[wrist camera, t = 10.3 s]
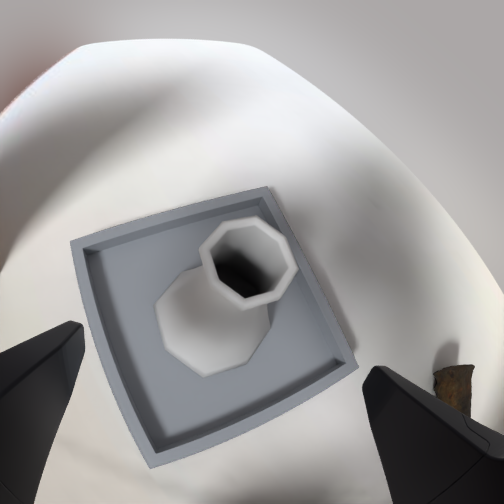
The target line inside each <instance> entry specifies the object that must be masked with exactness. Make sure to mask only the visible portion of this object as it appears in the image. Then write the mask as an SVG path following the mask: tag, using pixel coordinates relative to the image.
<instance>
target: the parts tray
mask: <svg viewBox="0 0 504 504" xmlns="http://www.w3.org/2000/svg"><path fill="white" fill-rule="evenodd" d="M255 215H257V216H258V217H260V218H261V219H262V220H264V221H265V222H267V223H268V224H269V225H271V226H272V227H274V228H275V229H276V230H278V231H279V232H280V233H282V234H283V235H285V236H286V238H287V241H288V243H289V246H290V248H291V250H292V253H293V255H294V258H295V260H296V263H297V265H298V268H299V270H298V272H297V273H296V275H295V276H294V278H293V280H292V281H291V283H290V284H289V286H288V288H287V289H286V291H285V292H284V294H283V295H282V297H281V298H280V299H279V300H278V301H274V302H271V303H268V304H267V310H268V317H269V322H270V328H271V329H270V330H269V332H268V333H267V335H266V336H265V338H264V339H263V341H262V342H261V344H260V345H259V347H258V349H257V350H256V352H255V353H254V354H253V356H252V357H251V359H250V360H249V362H248V363H247V364H246V365H243V366H240V367H237V368H234V369H231V370H228V371H225V372H221V373H218V374H215V375H212V376H208V377H205V378H203V377H201V376H200V375H198V374H197V373H196V372H194V371H193V370H191V369H190V368H189V367H187V366H186V365H185V364H183V363H182V362H181V361H179V360H178V359H176V358H175V357H174V356H173V355H171V354H170V353H169V352H167V351H166V350H165V348H164V345H163V341H162V338H161V334H160V331H159V327H158V323H157V320H156V316H155V312H154V308H153V305H154V304H155V302H156V301H157V300H158V299H159V298H160V296H161V295H162V294H163V293H164V292H165V290H166V289H167V288H168V287H169V286H170V284H171V283H172V282H173V281H174V280H175V279H176V277H177V276H178V275H179V274H180V273H181V272H183V271H187V270H191V269H195V268H197V267H200V266H202V265H203V264H202V260H201V257H200V254H199V247H200V246H201V245H202V244H203V243H204V242H205V240H206V239H207V238H208V237H209V236H210V235H211V234H212V233H213V231H214V230H215V229H216V228H217V227H218V226H219V225H220V224H221V223H222V221H227V220H233V219H238V218H244V217H250V216H255ZM70 245H71V251H72V256H73V261H74V266H75V271H76V276H77V281H78V285H79V289H80V293H81V298H82V302H83V305H84V309H85V313H86V317H87V320H88V324H89V327H90V330H91V334H92V337H93V340H94V343H95V346H96V349H97V352H98V355H99V358H100V361H101V364H102V367H103V369H104V372H105V375H106V377H107V380H108V382H109V385H110V388H111V390H112V392H113V395H114V397H115V400H116V402H117V404H118V407H119V409H120V411H121V413H122V416H123V418H124V420H125V422H126V424H127V426H128V428H129V431H130V433H131V435H132V437H133V439H134V441H135V443H136V445H137V446H138V448H139V450H140V452H141V454H142V456H143V458H144V460H145V461H146V463H147V465H148V467H149V468H150V469H152V468H155V467H158V466H161V465H164V464H167V463H171V462H173V461H176V460H179V459H182V458H185V457H188V456H190V455H193V454H196V453H198V452H201V451H204V450H206V449H209V448H211V447H214V446H216V445H218V444H221V443H223V442H226V441H228V440H230V439H232V438H235V437H237V436H239V435H241V434H244V433H246V432H248V431H250V430H252V429H254V428H256V427H258V426H260V425H262V424H264V423H266V422H268V421H270V420H272V419H274V418H276V417H278V416H280V415H282V414H284V413H285V412H287V411H289V410H291V409H293V408H295V407H296V406H298V405H300V404H302V403H303V402H305V401H307V400H309V399H310V398H312V397H314V396H315V395H317V394H319V393H320V392H322V391H324V390H325V389H327V388H329V387H330V386H332V385H333V384H335V383H336V382H338V381H340V380H341V379H343V378H344V377H346V376H347V375H349V374H350V373H352V372H353V371H355V370H356V369H358V368H359V366H358V364H357V362H356V359H355V357H354V355H353V353H352V351H351V349H350V347H349V344H348V342H347V340H346V338H345V336H344V334H343V332H342V330H341V328H340V325H339V323H338V321H337V319H336V317H335V315H334V313H333V311H332V309H331V307H330V305H329V303H328V301H327V299H326V297H325V295H324V293H323V291H322V289H321V287H320V285H319V283H318V281H317V279H316V277H315V275H314V273H313V271H312V269H311V267H310V265H309V263H308V261H307V259H306V257H305V255H304V254H303V252H302V250H301V248H300V246H299V244H298V242H297V240H296V238H295V236H294V235H293V233H292V231H291V229H290V227H289V225H288V223H287V221H286V220H285V218H284V216H283V214H282V212H281V210H280V209H279V207H278V205H277V203H276V201H275V199H274V198H273V196H272V194H271V192H270V190H269V189H268V187H267V186H266V187H261V188H257V189H253V190H248V191H244V192H240V193H236V194H231V195H227V196H223V197H219V198H215V199H211V200H207V201H203V202H199V203H195V204H192V205H188V206H184V207H180V208H177V209H173V210H169V211H166V212H162V213H159V214H155V215H152V216H148V217H145V218H141V219H138V220H135V221H131V222H128V223H125V224H121V225H118V226H115V227H112V228H109V229H105V230H102V231H99V232H96V233H93V234H90V235H87V236H84V237H81V238H78V239H75V240H72V241H70Z"/></svg>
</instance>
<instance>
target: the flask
mask: <svg viewBox="0 0 504 504" xmlns="http://www.w3.org/2000/svg"><path fill="white" fill-rule="evenodd" d="M199 254H200V257H201V260H202V264H203V265H202V266H200V267H197V268H195V269H191V270H187V271H183V272H181V273H180V274H179V275H178V276H177V277H176V279H175V280H174V281H173V282H172V283H171V284H170V286H169V287H168V288H167V289H166V290H165V292H164V293H163V294H162V295H161V296H160V298H159V299H158V300H157V301H156V302H155V304H154V305H153V308H154V312H155V316H156V320H157V323H158V327H159V331H160V334H161V338H162V341H163V345H164V348H165V350H166V351H167V352H169V353H170V354H171V355H173V356H174V357H175V358H176V359H178V360H179V361H181V362H182V363H183V364H185V365H186V366H187V367H189V368H190V369H191V370H193V371H194V372H196V373H197V374H198V375H200V376H201V377H203V378H205V377H208V376H212V375H215V374H218V373H221V372H225V371H228V370H231V369H234V368H237V367H240V366H243V365H246V364H247V363H248V362H249V360H250V359H251V357H252V356H253V354H254V353H255V352H256V350H257V349H258V347H259V345H260V344H261V342H262V341H263V339H264V338H265V336H266V335H267V333H268V332H269V330H270V329H271V328H270V322H269V317H268V310H267V304H268V303H271V302H274V301H278V300H279V299H280V298H281V297H282V295H283V294H284V292H285V291H286V289H287V288H288V286H289V284H290V283H291V281H292V280H293V278H294V276H295V275H296V273H297V272H298V270H299V268H298V265H297V263H296V260H295V258H294V255H293V253H292V250H291V248H290V246H289V243H288V241H287V238H286V236H285V235H283V234H282V233H280V232H279V231H278V230H276V229H275V228H274V227H272V226H271V225H269V224H268V223H267V222H265V221H264V220H262V219H261V218H260V217H258V216H257V215H255V216H250V217H244V218H238V219H233V220H227V221H222V223H221V224H220V225H219V226H218V227H217V228H216V229H215V230H214V231H213V233H212V234H211V235H210V236H209V237H208V238H207V239H206V240H205V242H204V243H203V244H202V245H201V246H200V247H199Z"/></svg>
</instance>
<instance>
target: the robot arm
mask: <svg viewBox="0 0 504 504" xmlns="http://www.w3.org/2000/svg"><path fill="white" fill-rule="evenodd" d="M84 353H85V339H84V327H83V325H82V324H81V323H78V322H74V321H67V322H65V323H63V324H61V325H59V326H57V327H54V328H52V329H50V330H48V331H46V332H44V333H42V334H39V335H37V336H35V337H33V338H31V339H29V340H27V341H24V342H22V343H20V344H18V345H16V346H14V347H12V348H10V349H8V350H5V351H3V352H1V353H0V504H34V501H35V497H36V494H37V490H38V487H39V483H40V480H41V477H42V473H43V470H44V467H45V464H46V461H47V458H48V455H49V452H50V449H51V447H52V444H53V441H54V438H55V436H56V433H57V430H58V428H59V425H60V423H61V420H62V418H63V415H64V413H65V410H66V408H67V405H68V403H69V400H70V398H71V395H72V392H73V388H74V385H75V382H76V378H77V375H78V372H79V369H80V366H81V362H82V359H83V356H84ZM362 391H363V395H364V400H365V404H366V409H367V414H368V418H369V423H370V427H371V430H372V434H373V437H374V440H375V443H376V446H377V450H378V453H379V456H380V459H381V463H382V466H383V470H384V473H385V476H386V480H387V483H388V487H389V491H390V494H391V498H392V502H393V504H504V435H502V434H500V433H498V432H496V431H494V430H492V429H490V428H488V427H486V426H484V425H482V424H480V423H478V422H476V421H475V420H473V419H471V418H469V417H468V416H466V415H464V414H463V413H462V414H461V412H459V411H458V410H456V409H454V408H453V407H451V406H449V405H448V404H446V403H444V402H443V401H441V400H440V399H438V398H436V397H435V396H433V395H431V394H430V393H428V392H426V391H425V390H423V389H422V388H420V387H418V386H417V385H415V384H414V383H412V382H410V381H409V380H407V379H406V378H404V377H402V376H401V375H399V374H398V373H396V372H394V371H393V370H391V369H390V368H388V367H386V366H374V367H373V368H372V369H371V371H370V373H369V374H368V376H367V378H366V379H365V381H364V383H363V386H362Z"/></svg>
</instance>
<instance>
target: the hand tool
mask: <svg viewBox="0 0 504 504" xmlns="http://www.w3.org/2000/svg"><path fill="white" fill-rule="evenodd" d="M474 368H475V366H474V365H457V366H450V367H446V368H443V369H442V370H440V371H437V372H435V373H434V374H433V375H434V376H435V378H436V380H437V384H436V386H435V388H434V391H435V392H436V393H437V397H438V399H440V400H441V401H443V402H444V403H446V404H448V405H449V406H451V407H453V408H454V409H456V410H458V411H459V412H461V414H462V413H463V414H464V415H466V416H468V417H469V418H471V397H472V393H471V387H472V386H471V378H472V373H473V370H474Z"/></svg>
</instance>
